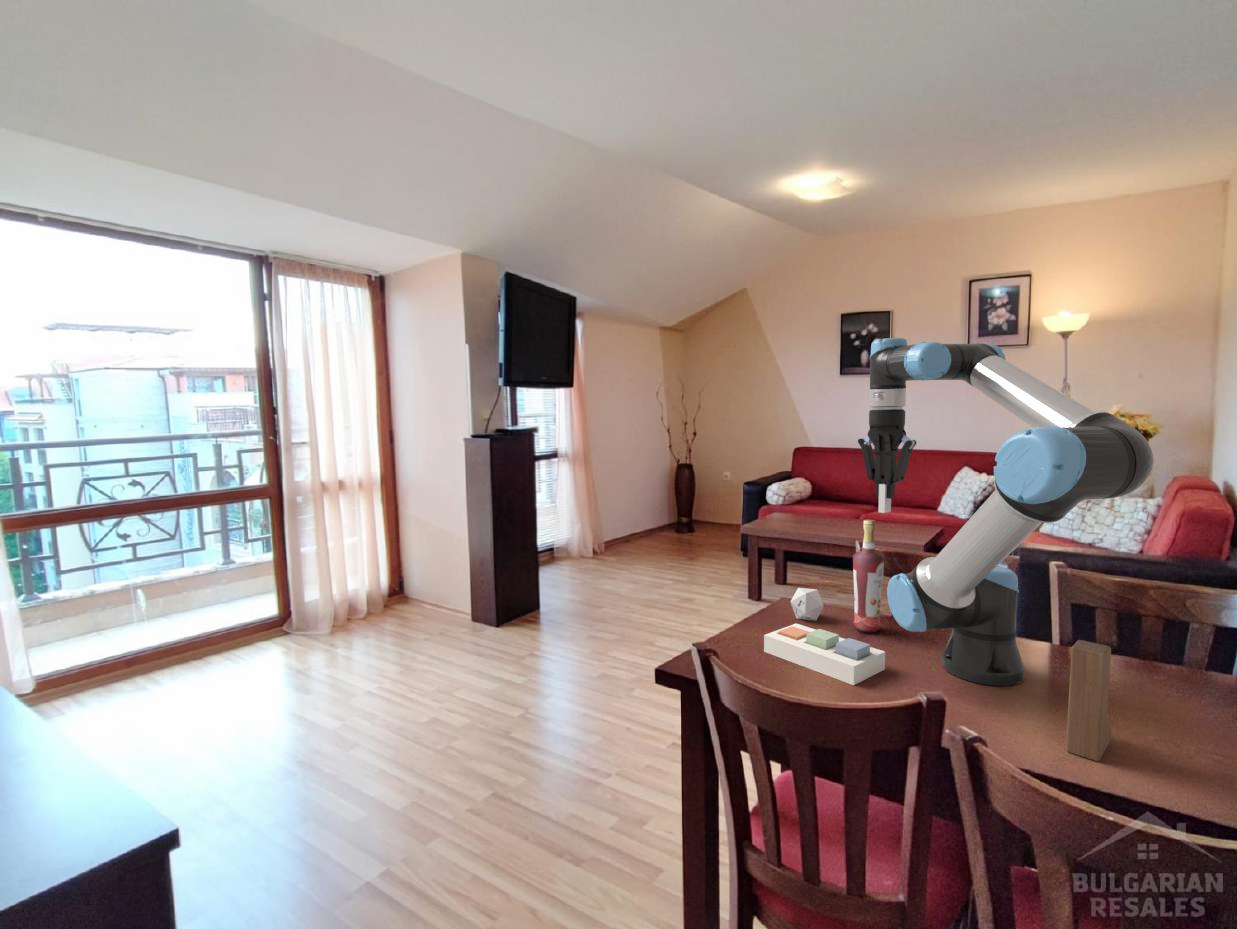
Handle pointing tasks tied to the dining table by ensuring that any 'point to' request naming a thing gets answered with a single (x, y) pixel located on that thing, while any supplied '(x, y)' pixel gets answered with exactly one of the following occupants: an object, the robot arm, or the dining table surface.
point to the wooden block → (1089, 700)
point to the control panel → (824, 657)
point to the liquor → (867, 582)
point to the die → (807, 604)
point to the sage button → (822, 639)
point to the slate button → (853, 649)
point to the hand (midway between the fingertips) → (884, 512)
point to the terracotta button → (794, 633)
